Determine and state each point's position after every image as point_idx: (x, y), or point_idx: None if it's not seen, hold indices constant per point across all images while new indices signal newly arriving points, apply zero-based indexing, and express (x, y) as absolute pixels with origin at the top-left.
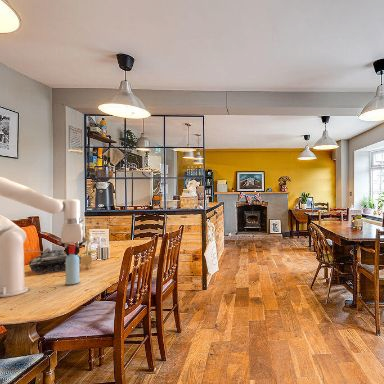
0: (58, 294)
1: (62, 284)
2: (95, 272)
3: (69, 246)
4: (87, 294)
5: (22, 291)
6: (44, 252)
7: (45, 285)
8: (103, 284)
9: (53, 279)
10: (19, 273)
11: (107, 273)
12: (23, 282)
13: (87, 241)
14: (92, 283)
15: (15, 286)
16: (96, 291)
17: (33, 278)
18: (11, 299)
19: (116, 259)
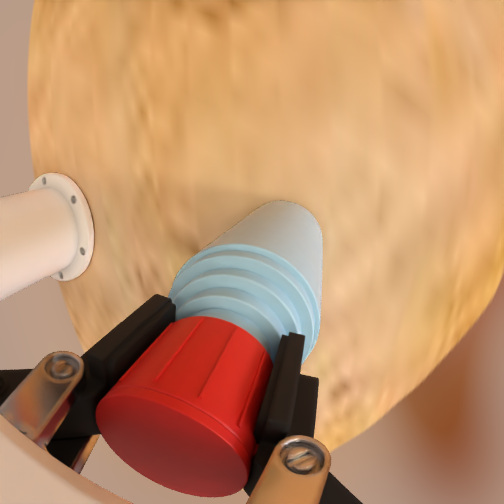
0: None
1: (227, 216)
2: (423, 41)
3: (119, 442)
4: (329, 437)
5: (83, 269)
6: None
7: (145, 181)
8: (423, 357)
9: (174, 68)
10: (14, 288)
11: (491, 126)
12: (55, 251)
13: None
14: (386, 307)
15: (49, 275)
16: (366, 426)
17: (97, 19)
18: (81, 315)
19: None
